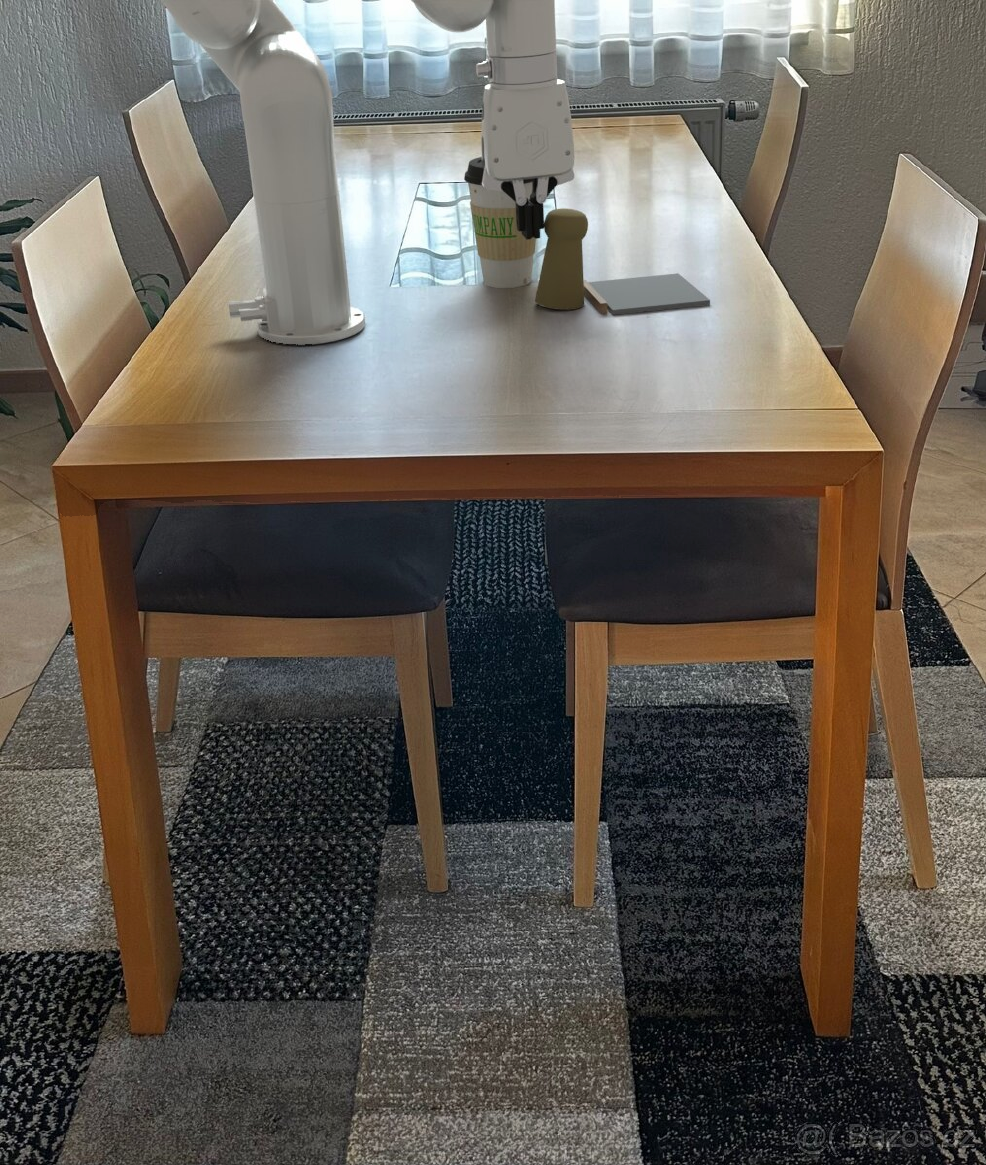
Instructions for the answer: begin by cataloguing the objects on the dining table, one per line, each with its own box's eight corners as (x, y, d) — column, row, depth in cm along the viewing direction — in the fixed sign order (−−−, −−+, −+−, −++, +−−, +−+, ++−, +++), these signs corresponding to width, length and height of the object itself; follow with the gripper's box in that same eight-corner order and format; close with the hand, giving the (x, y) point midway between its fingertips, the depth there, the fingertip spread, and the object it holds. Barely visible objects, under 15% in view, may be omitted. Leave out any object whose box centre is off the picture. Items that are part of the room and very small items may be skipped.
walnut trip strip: (600, 313, 152) (600, 303, 152) (579, 290, 161) (579, 280, 160) (607, 312, 153) (607, 302, 152) (585, 289, 161) (585, 280, 161)
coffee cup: (460, 276, 169) (453, 157, 162) (530, 266, 171) (527, 150, 164) (482, 296, 161) (476, 172, 153) (556, 286, 163) (554, 164, 156)
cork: (581, 296, 159) (590, 205, 154) (586, 310, 154) (595, 216, 148) (533, 294, 159) (539, 203, 153) (536, 308, 153) (543, 214, 148)
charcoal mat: (612, 314, 152) (612, 309, 152) (586, 286, 162) (586, 282, 162) (709, 304, 154) (710, 300, 153) (678, 277, 164) (678, 273, 164)
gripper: (462, 81, 138) (474, 251, 147) (597, 68, 140) (600, 237, 149) (451, 72, 145) (463, 235, 154) (580, 60, 147) (584, 222, 156)
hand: (530, 235), depth 152 cm, fingers closed
